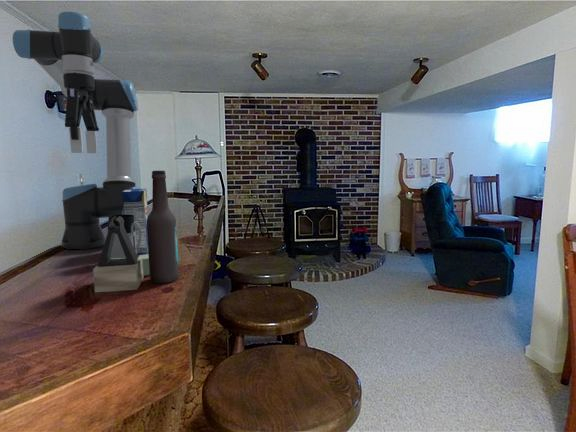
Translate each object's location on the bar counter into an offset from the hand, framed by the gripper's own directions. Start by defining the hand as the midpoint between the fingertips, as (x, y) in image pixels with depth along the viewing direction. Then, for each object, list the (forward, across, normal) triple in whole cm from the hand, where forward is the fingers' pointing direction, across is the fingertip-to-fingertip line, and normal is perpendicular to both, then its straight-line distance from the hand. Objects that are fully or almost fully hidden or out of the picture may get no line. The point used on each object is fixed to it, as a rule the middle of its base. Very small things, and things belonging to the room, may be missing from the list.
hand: (85, 153), depth 109 cm
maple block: (+35, -14, -10) cm, 39 cm away
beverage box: (+35, +25, -8) cm, 44 cm away
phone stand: (+29, -14, -10) cm, 34 cm away
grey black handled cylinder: (+35, +8, -8) cm, 37 cm away
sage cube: (+35, -4, -16) cm, 39 cm away
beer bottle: (+35, -12, -21) cm, 42 cm away
